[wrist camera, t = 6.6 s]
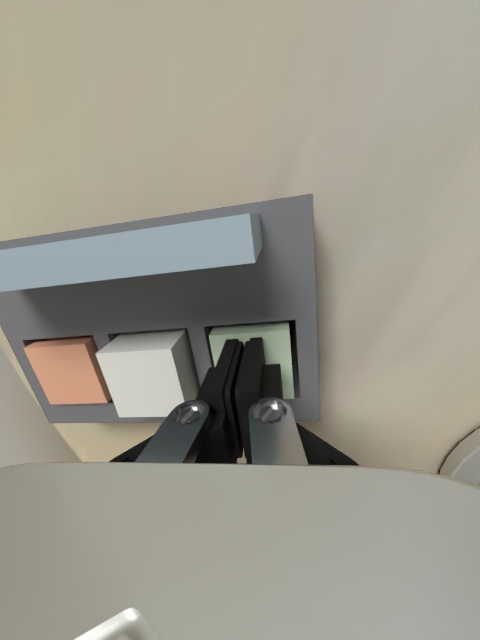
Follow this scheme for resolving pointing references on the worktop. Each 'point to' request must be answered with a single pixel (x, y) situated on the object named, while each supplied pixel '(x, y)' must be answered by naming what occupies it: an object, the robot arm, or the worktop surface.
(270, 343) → the sage key
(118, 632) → the robot arm
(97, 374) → the terracotta key
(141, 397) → the white key
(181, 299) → the keypad
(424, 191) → the worktop surface
